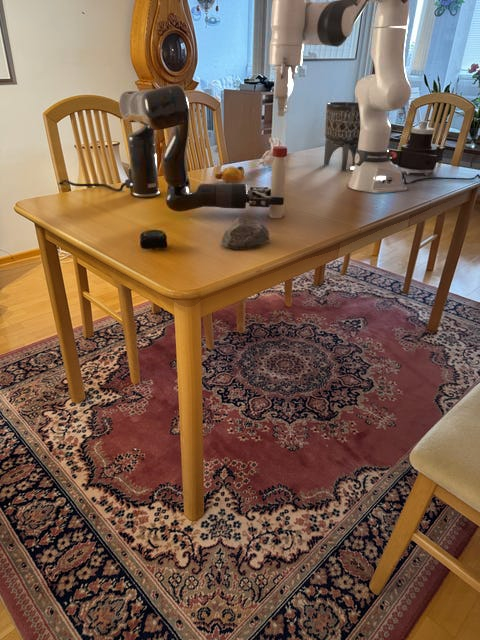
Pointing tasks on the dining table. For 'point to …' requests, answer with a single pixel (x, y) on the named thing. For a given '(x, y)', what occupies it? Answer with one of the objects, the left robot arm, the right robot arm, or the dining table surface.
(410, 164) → the mechanical component
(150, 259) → the dining table surface
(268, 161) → the figurine
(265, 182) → the dining table surface
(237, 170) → the toy
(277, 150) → the cap
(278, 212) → the bottle
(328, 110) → the planter
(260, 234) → the rock
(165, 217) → the dining table surface
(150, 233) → the tape measure
